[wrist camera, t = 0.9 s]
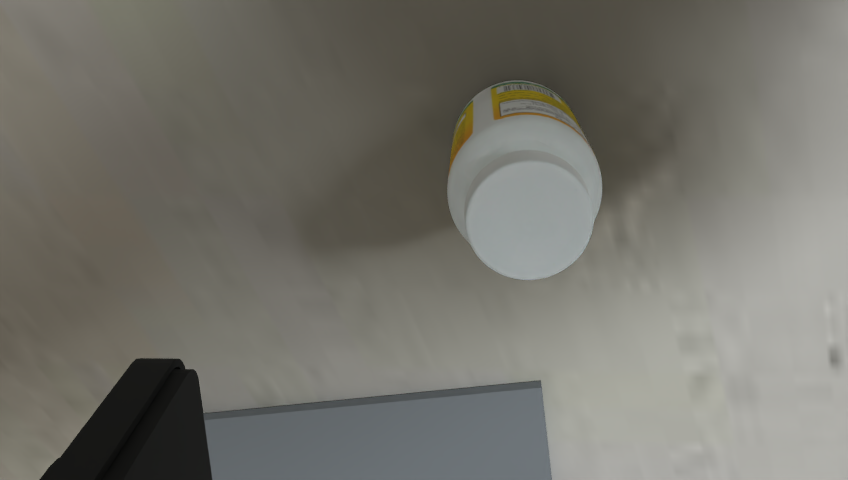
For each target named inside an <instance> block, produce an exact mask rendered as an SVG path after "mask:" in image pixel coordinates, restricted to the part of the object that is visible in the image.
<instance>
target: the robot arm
mask: <svg viewBox="0 0 848 480" xmlns="http://www.w3.org/2000/svg"><path fill="white" fill-rule="evenodd" d="M40 480H212V473H211V466H210V458H209V451H208V444H207V437H206V430H205V422H204V415H203V408H202V401H201V394H200V387H199V380H198V375H197V373H196V371H195V370H193V369H185V366H184V364H183V362H182V361H181V360H180V359H143V358H140V359H136V360H135V361H134V362H133V363H132V364H131V365H130V366H129V368H128V369H127V370H126V372H125V373H124V374H123V376H122V377H121V378H120V380H119V381H118V382H117V383H116V385H115V386H114V387H113V389H112V390H111V391H110V393H109V394H108V395H107V397H106V398H105V399H104V401H103V402H102V403H101V405H100V406H99V407H98V408H97V410H96V411H95V412H94V414H93V415H92V416H91V418H90V419H89V420H88V422H87V423H86V424H85V426H84V427H83V428H82V430H81V431H80V432H79V433H78V435H77V436H76V437H75V439H74V440H73V441H72V443H71V444H70V445H69V447H68V448H67V449H66V451H65V452H64V453H63V455H62V456H61V457H60V458H58V459H57V460H56V461H55V462H54V463H53V464H52V465H51V466H50V467H49V468H48V469H47V471H46V472H45V473H44V475H43V476H42V477H41V479H40Z"/></svg>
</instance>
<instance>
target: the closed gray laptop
mask: <svg viewBox="0 0 848 480" xmlns="http://www.w3.org/2000/svg"><path fill="white" fill-rule="evenodd" d="M203 415H204V422H205V430H206V437H207V444H208V451H209V458H210V466H211V473H212V480H552V477H551V468H550V459H549V450H548V441H547V432H546V423H545V414H544V405H543V396H542V387H541V381H533V382H522V383H512V384H502V385H492V386H482V387H471V388H461V389H451V390H441V391H430V392H420V393H410V394H400V395H389V396H379V397H369V398H359V399H348V400H338V401H328V402H318V403H307V404H297V405H287V406H277V407H267V408H256V409H246V410H236V411H226V412H215V413H205V414H203Z"/></svg>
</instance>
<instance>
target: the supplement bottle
mask: <svg viewBox="0 0 848 480" xmlns="http://www.w3.org/2000/svg"><path fill="white" fill-rule="evenodd" d="M447 198H448V205H449V209H450V213H451V216H452V218H453V221H454V223H455V225H456V227H457V228H458V230H459V232H460V233H461V234H462V236H463V237H464V238H465V239H466V240H467V241H468V242H469V243H470V245H471V247H472V249H473V250H474V252H475V254H476V255H477V256H478V258H479V259H480V260H481V261H482V262H483V263H484V264H485V265H486V266H488V267H489V268H491V269H492V270H494V271H496V272H497V273H499V274H501V275H504V276H506V277H509V278H513V279H519V280H537V279H542V278H546V277H550V276H553V275H555V274H557V273H559V272H561V271H563V270H565V269H566V268H567V267H569V266H570V265H571V264H573V263H574V262H575V261H576V260H577V259H578V258H579V256H580V255H581V254H582V253H583V251H584V249H585V248H586V246H587V244H588V242H589V240H590V237H591V234H592V230H593V224H594V221H595V219H596V216H597V214H598V211H599V208H600V204H601V199H602V177H601V172H600V168H599V165H598V162H597V159H596V157H595V154H594V152H593V150H592V149H591V147H590V145H589V143H588V141H587V139H586V137H585V135H584V133H583V131H582V129H581V128H580V126H579V124H578V122H577V120H576V118H575V116H574V114H573V112H572V111H571V109H570V107H569V106H568V105H567V103H566V102H565V101H564V100H563V99H562V98H561V97H560V96H559V95H558V94H557V93H555V92H554V91H552V90H551V89H549V88H547V87H545V86H543V85H540V84H537V83H534V82H530V81H523V80H512V81H505V82H501V83H498V84H495V85H492V86H490V87H488V88H486V89H484V90H483V91H481V92H480V93H478V94H477V95H476V96H475V97H474V98H473V99H472V100H471V101H470V102H469V103H468V104H467V105H466V106H465V108H464V109H463V111H462V113H461V114H460V116H459V118H458V121H457V124H456V127H455V130H454V135H453V143H452V149H451V159H450V168H449V175H448V184H447Z"/></svg>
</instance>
